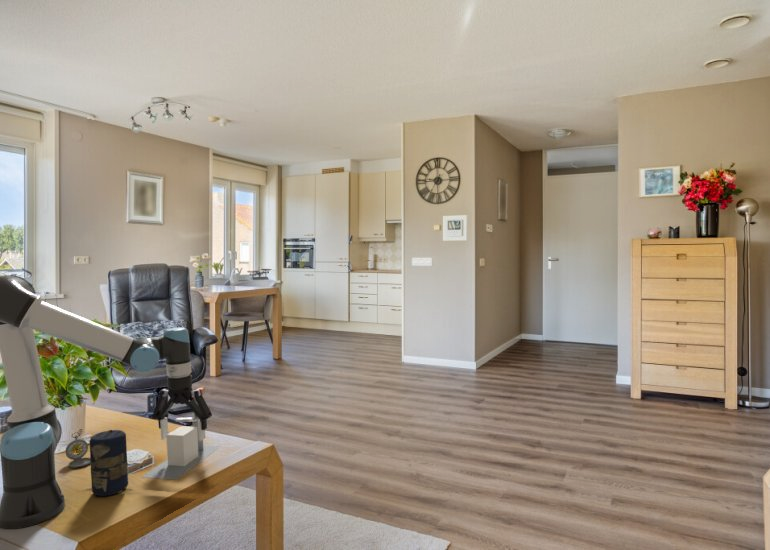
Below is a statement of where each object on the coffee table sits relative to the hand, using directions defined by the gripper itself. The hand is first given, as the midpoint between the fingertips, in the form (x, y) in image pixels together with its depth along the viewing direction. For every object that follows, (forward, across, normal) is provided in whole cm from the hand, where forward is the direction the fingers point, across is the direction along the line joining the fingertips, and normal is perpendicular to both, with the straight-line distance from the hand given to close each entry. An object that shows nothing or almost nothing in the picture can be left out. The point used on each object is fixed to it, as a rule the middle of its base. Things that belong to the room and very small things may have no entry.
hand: (183, 438), depth 167 cm
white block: (+7, 0, 0) cm, 7 cm away
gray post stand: (+8, 0, 0) cm, 8 cm away
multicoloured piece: (-3, -3, +10) cm, 11 cm away
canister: (+8, -11, -20) cm, 25 cm away
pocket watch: (+8, -36, -4) cm, 37 cm away
